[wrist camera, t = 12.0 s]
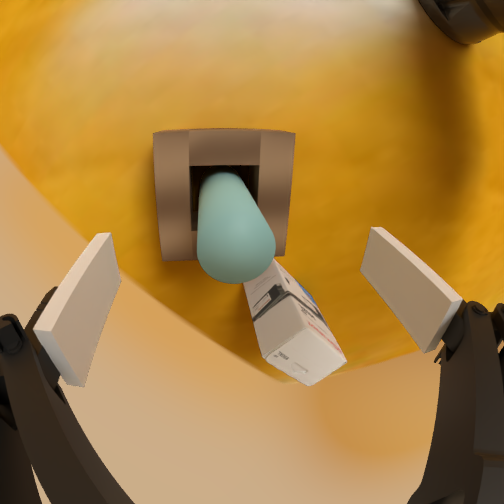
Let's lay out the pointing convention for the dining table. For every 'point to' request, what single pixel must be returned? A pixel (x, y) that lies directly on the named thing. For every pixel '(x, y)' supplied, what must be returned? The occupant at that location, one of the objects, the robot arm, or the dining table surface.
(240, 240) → the peg
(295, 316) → the ink box
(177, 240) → the socket block
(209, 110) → the dining table surface
